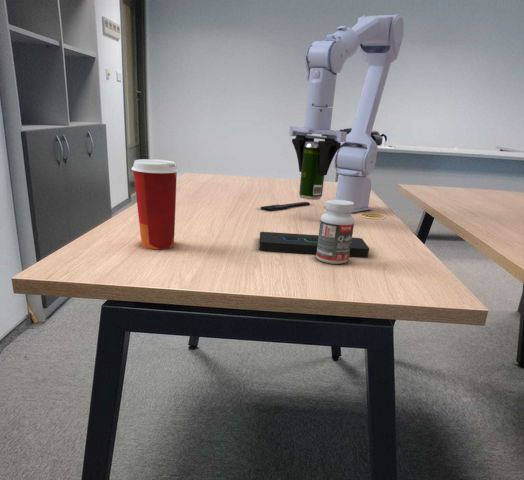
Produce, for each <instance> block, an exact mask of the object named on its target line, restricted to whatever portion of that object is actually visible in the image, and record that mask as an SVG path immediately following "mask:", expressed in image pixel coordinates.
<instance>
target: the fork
mask: <svg viewBox="0 0 524 480" xmlns="http://www.w3.org/2000/svg"><path fill="white" fill-rule="evenodd" d="M305 206H310V202H308V201H300V202H293V203H286V204H285V203H283V204H279V203H277V204H272V205H271V204H270V205H264V206H260V210H264V211H267V212H273V211H280V210H287V209H290V208H295V207H296V208H297V207H305Z"/></svg>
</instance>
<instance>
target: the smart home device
mask: <svg viewBox="0 0 524 480" xmlns="http://www.w3.org/2000/svg"><path fill="white" fill-rule="evenodd" d="M318 238H319V234H303V233H289V232H275V231H259V245H258V246H259V247H258V248H259V249H258V251H262V252H263V251H264V252H275V253H276V252H278V253H292V254H309V255H310V254H311V255H316V253H317V246H318ZM369 252H370V247H369V246H368V244H367V243H366V241H365V240H364V239H363V238H361V237H353V236H352V240H351V247H350V254H349V257H357V258H368V257H369Z"/></svg>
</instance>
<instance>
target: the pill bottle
mask: <svg viewBox="0 0 524 480" xmlns="http://www.w3.org/2000/svg"><path fill="white" fill-rule="evenodd" d="M325 210H326V211H325V213H323V214H322V215H321V217H320V221H319V229H318V235H319V238H318V246H317V253H316V254H315V257H316V259H317V260H319V261H320V262H323V263H326V264H331V265H340V264H346V263H347V262H348V261H349V258H350V256H349V254H350V247H351V240H352V237H353V234H354V227H355V219H354V217H353V216H352V213H351V212H352V211H353V210H354V203H353V202H351V201H346V200H335V199H328V200H326V201H325Z"/></svg>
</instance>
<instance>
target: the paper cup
mask: <svg viewBox="0 0 524 480" xmlns="http://www.w3.org/2000/svg"><path fill="white" fill-rule="evenodd" d="M131 171H133V180H134V190H135V197H136V198H135V199H136V206H137V215H138V224H139V232H140V240H141V246H142V247H143V248H145V249H150V250H166V249H167V250H168V249H171V248H173V247H174V245H175V230H176V229H175V228H176V204H177V202H176V200H177V173H179V169H178V168H177V163H176V161H172V160H167V159H153V158H150V159H149V158H147V159H146V158H145V159H144V158H143V159H141V158H140V159H134V162H133V164H132V167H131Z"/></svg>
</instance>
